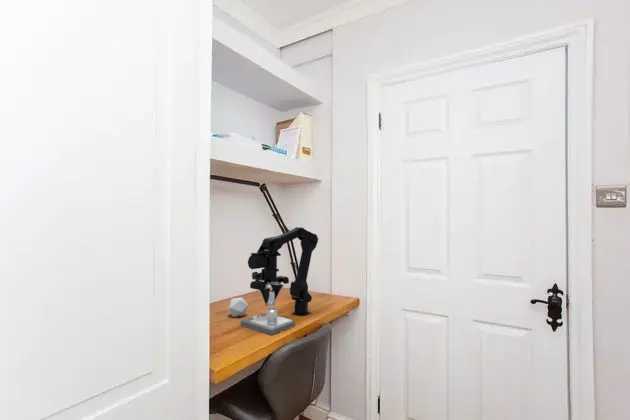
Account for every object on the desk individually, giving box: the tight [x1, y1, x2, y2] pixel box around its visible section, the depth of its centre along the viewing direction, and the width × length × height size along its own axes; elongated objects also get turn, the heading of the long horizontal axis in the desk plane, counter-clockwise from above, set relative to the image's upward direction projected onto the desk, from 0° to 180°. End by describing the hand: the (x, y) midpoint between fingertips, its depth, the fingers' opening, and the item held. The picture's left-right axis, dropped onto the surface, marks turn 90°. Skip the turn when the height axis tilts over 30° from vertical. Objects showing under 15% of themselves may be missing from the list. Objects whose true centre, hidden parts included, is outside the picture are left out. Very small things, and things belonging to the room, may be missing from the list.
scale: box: [240, 313, 296, 336], centre depth 142 cm, size 14×19×3 cm
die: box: [226, 297, 249, 318], centre depth 156 cm, size 8×9×10 cm
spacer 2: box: [266, 307, 279, 326], centre depth 135 cm, size 4×4×6 cm
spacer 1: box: [264, 289, 276, 307], centre depth 146 cm, size 4×4×6 cm
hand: (270, 301), depth 146 cm, fingers closed on spacer 1, 4 cm apart
